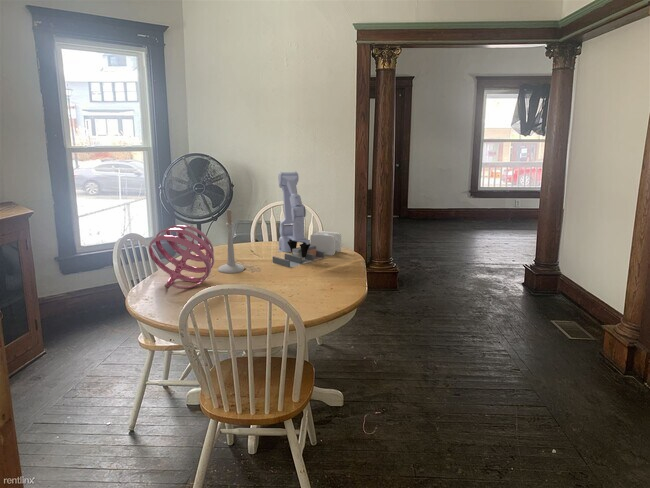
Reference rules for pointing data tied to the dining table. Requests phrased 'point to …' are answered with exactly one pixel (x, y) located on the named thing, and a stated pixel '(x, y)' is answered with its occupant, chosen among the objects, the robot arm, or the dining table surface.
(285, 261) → the grey tiered rack
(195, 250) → the spiral basket
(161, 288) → the dining table surface
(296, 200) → the robot arm
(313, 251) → the brown and grey box
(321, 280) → the dining table surface
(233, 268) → the candlestick
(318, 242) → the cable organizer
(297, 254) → the grey rectangular block
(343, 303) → the dining table surface
